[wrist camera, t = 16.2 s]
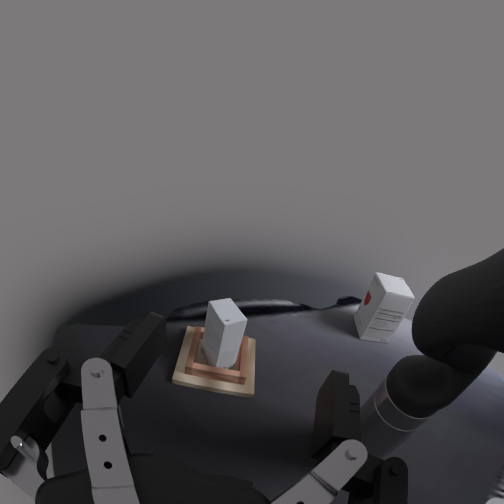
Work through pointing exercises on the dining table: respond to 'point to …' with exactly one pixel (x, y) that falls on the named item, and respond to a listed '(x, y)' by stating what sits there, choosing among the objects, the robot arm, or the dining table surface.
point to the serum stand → (213, 378)
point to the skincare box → (223, 333)
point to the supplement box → (382, 308)
